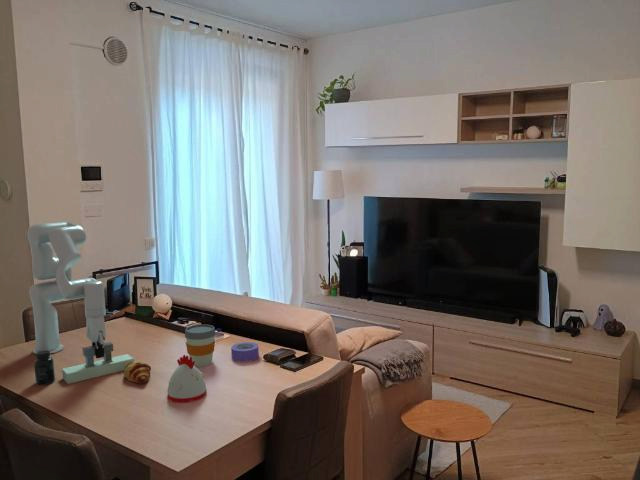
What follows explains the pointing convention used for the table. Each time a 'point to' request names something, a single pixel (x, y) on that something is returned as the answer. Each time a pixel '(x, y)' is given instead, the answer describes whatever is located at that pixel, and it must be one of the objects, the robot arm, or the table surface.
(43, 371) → the supplement bottle
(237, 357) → the tape roll
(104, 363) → the rail
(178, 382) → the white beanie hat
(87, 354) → the clip
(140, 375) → the croissant
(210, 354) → the reusable coffee cup
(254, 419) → the table surface
